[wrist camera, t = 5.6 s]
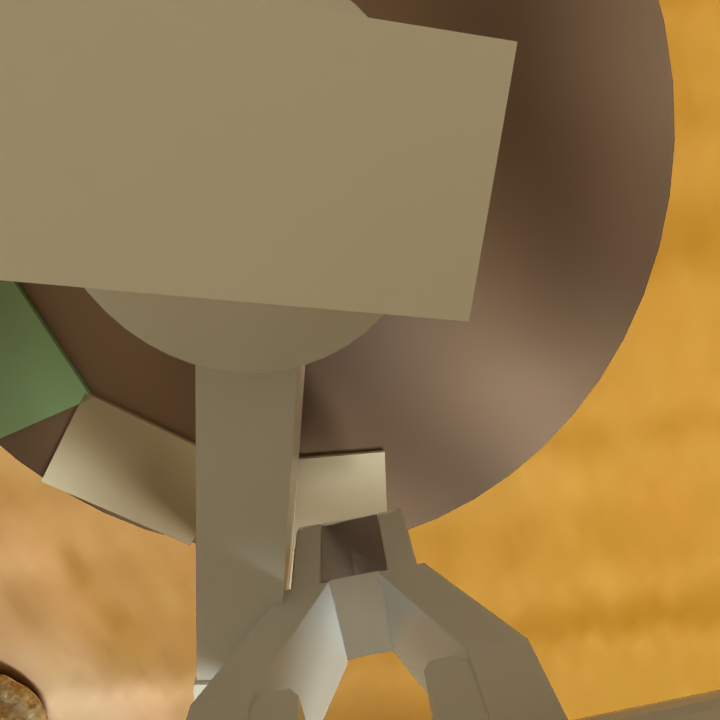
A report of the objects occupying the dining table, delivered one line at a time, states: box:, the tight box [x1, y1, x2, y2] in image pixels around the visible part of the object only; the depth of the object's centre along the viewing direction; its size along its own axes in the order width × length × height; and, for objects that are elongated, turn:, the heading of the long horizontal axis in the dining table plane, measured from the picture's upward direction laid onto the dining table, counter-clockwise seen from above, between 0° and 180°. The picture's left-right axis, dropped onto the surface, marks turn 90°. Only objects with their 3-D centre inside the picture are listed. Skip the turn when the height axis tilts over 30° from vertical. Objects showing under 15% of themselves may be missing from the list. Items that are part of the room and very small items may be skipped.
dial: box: [0, 0, 675, 551], centre depth 9 cm, size 17×17×1 cm
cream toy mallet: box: [0, 0, 517, 701], centre depth 7 cm, size 11×4×6 cm, turn 174°
